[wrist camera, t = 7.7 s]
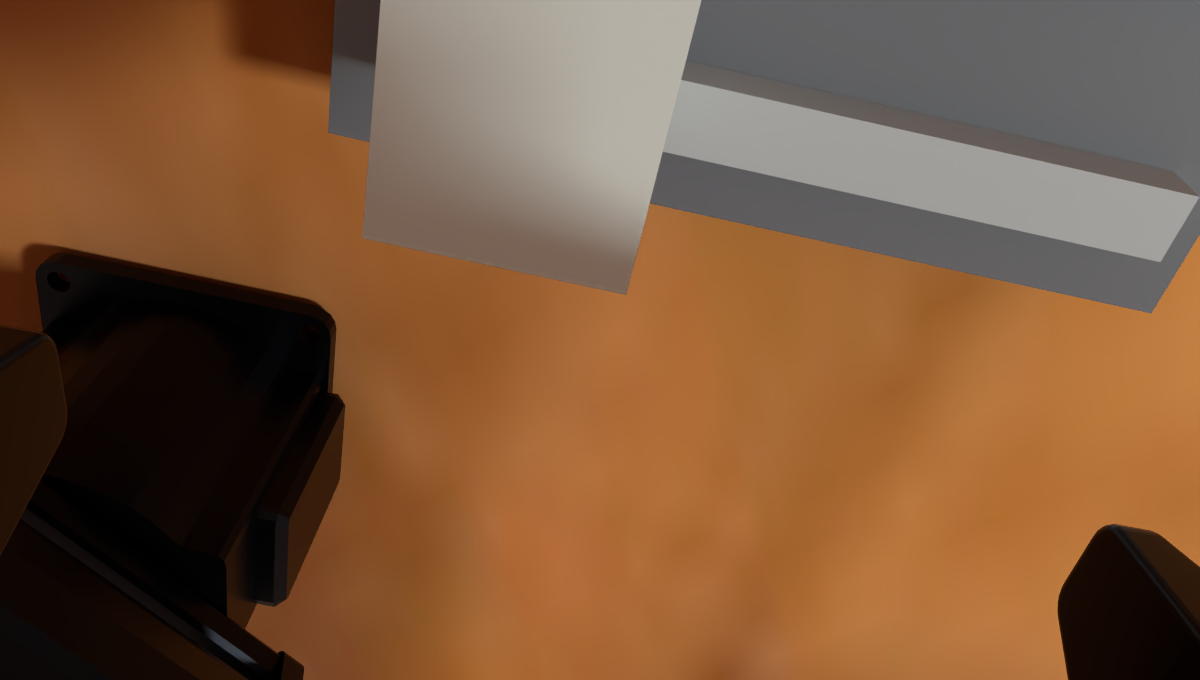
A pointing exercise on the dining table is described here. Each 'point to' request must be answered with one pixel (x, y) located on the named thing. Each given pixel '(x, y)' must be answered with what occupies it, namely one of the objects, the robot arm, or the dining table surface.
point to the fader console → (927, 131)
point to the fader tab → (523, 130)
